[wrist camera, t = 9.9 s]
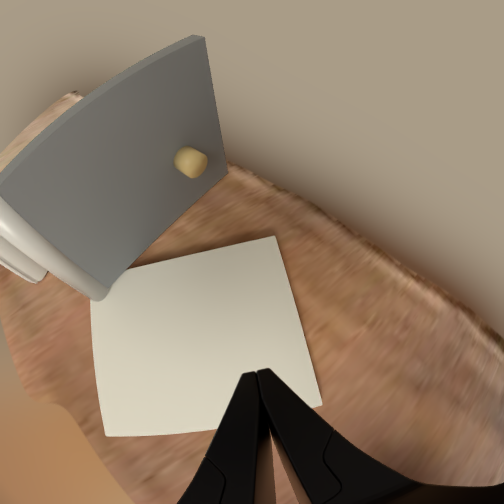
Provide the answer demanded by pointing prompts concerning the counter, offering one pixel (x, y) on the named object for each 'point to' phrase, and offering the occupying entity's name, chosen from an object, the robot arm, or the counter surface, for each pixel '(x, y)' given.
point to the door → (116, 169)
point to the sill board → (195, 338)
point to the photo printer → (20, 262)
